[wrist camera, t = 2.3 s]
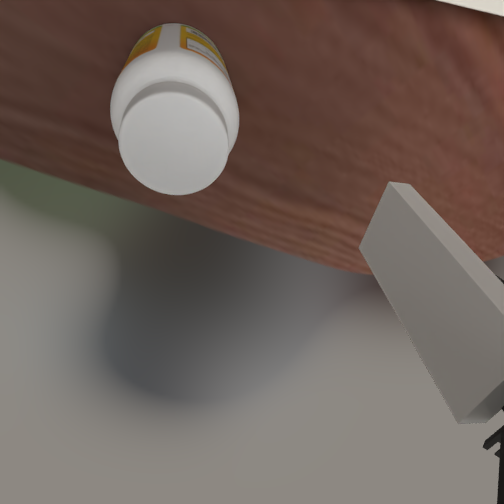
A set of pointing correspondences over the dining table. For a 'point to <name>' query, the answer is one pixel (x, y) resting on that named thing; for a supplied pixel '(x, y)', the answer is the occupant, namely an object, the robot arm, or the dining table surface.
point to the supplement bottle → (174, 110)
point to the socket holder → (480, 5)
